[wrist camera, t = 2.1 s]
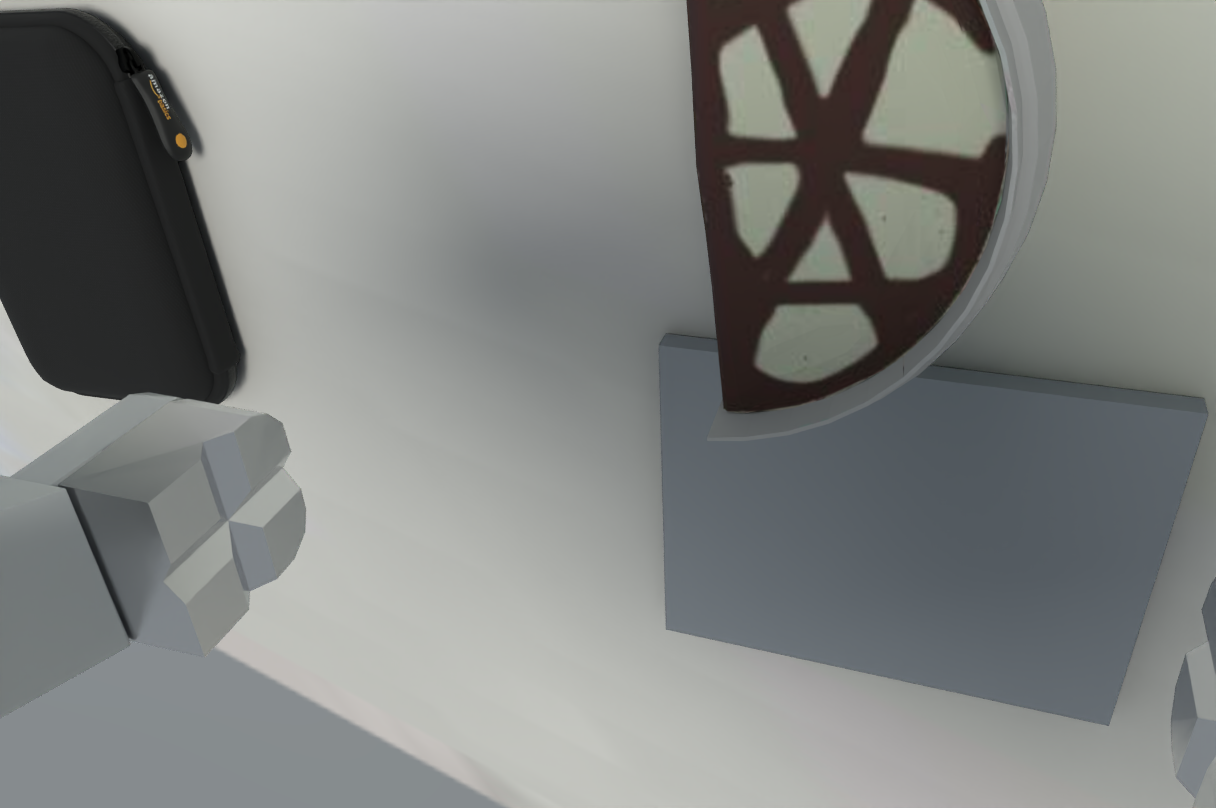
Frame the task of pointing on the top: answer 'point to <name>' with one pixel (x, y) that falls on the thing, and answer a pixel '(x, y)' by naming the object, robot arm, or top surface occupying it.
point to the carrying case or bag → (101, 219)
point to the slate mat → (930, 529)
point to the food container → (859, 189)
